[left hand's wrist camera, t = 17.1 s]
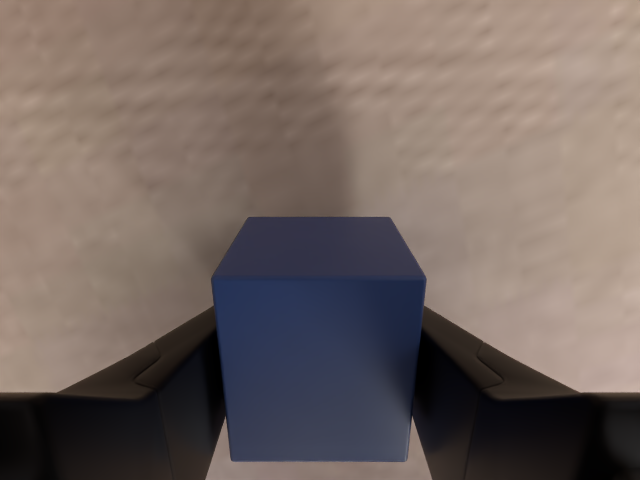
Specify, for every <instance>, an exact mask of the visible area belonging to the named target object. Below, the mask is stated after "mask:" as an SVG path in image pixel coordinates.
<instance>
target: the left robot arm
mask: <svg viewBox="0 0 640 480" xmlns="http://www.w3.org/2000/svg"><path fill="white" fill-rule="evenodd" d="M225 416H226V412H225V403H224V393H223V384H222V375H221V366H220V357H219V348H218V338H217V329H216V320H215V311H214V306H213V307H211V308H209V309H208V310H206V311H204V312H203V313H201V314H199V315H198V316H196V317H194V318H193V319H191V320H189V321H188V322H186V323H184V324H183V325H181V326H179V327H177V328H176V329H174V330H172V331H171V332H169V333H167V334H166V335H164V336H162V337H161V338H159V339H157V340H156V341H155V342H152V343H151V344H149V345H147V346H146V347H144V348H142V349H141V350H139V351H137V352H135V353H134V354H132V355H130V356H128V357H127V358H125V359H123V360H121V361H119V362H117V363H115V364H113V365H111V366H109V367H107V368H105V369H103V370H101V371H99V372H97V373H95V374H93V375H91V376H89V377H87V378H86V379H84V380H82V381H80V382H78V383H76V384H74V385H72V386H70V387H68V388H66V389H64V390H61V391H59V392H57V393H0V480H205V479H206V476H207V473H208V470H209V466H210V463H211V460H212V457H213V454H214V451H215V448H216V444H217V441H218V438H219V435H220V432H221V429H222V426H223V422H224V419H225ZM412 416H413V419H414V422H415V426H416V429H417V432H418V435H419V438H420V441H421V445H422V448H423V451H424V454H425V457H426V461H427V464H428V467H429V470H430V473H431V476H432V480H640V393H580V392H578V391H576V390H573V389H571V388H569V387H567V386H565V385H563V384H561V383H560V382H558V381H556V380H554V379H552V378H550V377H548V376H546V375H544V374H542V373H540V372H538V371H536V370H534V369H532V368H530V367H528V366H526V365H524V364H522V363H520V362H519V361H517V360H515V359H513V358H511V357H509V356H507V355H506V354H504V353H502V352H500V351H499V350H497V349H495V348H494V347H492V346H490V345H489V344H487V343H485V342H484V343H483V341H482V340H480V339H479V338H477V337H475V336H474V335H472V334H470V333H469V332H467V331H465V330H464V329H462V328H460V327H459V326H457V325H455V324H454V323H452V322H450V321H449V320H447V319H445V318H444V317H442V316H441V315H439V314H437V313H436V312H434V311H432V310H431V309H429V308H427V307H426V306H424V308H423V317H422V327H421V336H420V345H419V355H418V364H417V374H416V383H415V392H414V402H413V411H412Z"/></svg>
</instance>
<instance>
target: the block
mask: <svg viewBox="0 0 640 480" xmlns="http://www.w3.org/2000/svg"><path fill="white" fill-rule="evenodd" d="M426 280H427V279H426V276H425V275H424V273H423V271H422V270H421V268H420V266H419V265H418V263H417V261H416V260H415V258H414V256H413V255H412V253H411V251H410V250H409V248H408V246H407V244H406V243H405V241H404V239H403V238H402V236H401V234H400V233H399V231H398V229H397V228H396V226H395V224H394V223H393V221H392V219H391V218H390V217H249V218H247V220H246V222H245V223H244V225H243V227H242V228H241V230H240V231H239V233H238V235H237V236H236V238H235V240H234V241H233V243H232V244H231V246H230V248H229V249H228V251H227V253H226V254H225V256H224V258H223V259H222V261H221V262H220V264H219V266H218V267H217V269H216V271H215V272H214V274H213V276H212V278H211V284H212V293H213V302H214V311H215V320H216V329H217V338H218V348H219V357H220V366H221V375H222V384H223V393H224V403H225V412H226V421H227V430H228V439H229V448H230V457H231V460H232V461H233V462H405V461H407V458H408V449H409V439H410V430H411V421H412V411H413V402H414V392H415V383H416V374H417V364H418V355H419V345H420V336H421V327H422V317H423V308H424V298H425V289H426Z"/></svg>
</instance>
